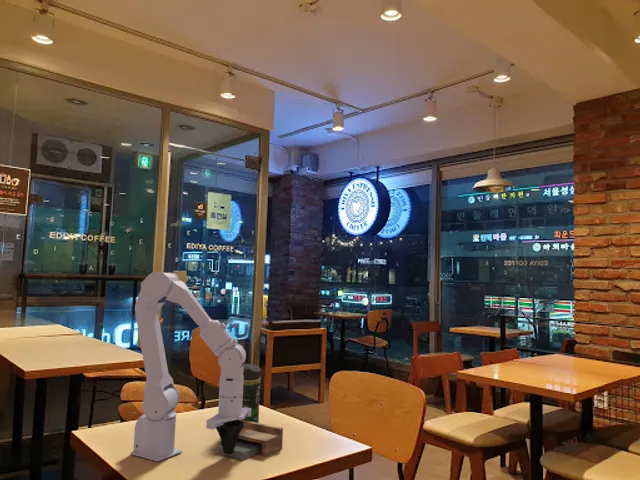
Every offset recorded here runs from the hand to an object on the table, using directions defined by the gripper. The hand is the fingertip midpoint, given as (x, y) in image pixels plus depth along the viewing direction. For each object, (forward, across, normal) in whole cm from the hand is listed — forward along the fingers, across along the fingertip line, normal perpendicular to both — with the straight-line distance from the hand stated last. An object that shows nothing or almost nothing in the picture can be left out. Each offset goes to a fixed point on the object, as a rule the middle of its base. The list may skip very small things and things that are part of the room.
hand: (228, 452), depth 119 cm
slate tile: (+1, +5, 0) cm, 5 cm away
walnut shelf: (+1, +9, 0) cm, 9 cm away
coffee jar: (+1, +19, +10) cm, 22 cm away
